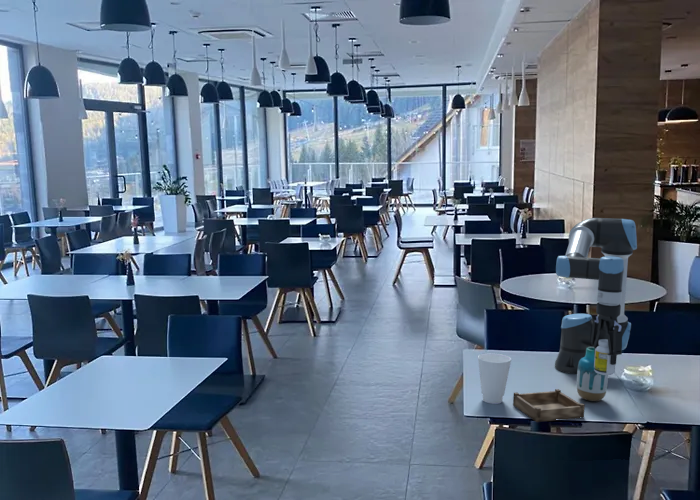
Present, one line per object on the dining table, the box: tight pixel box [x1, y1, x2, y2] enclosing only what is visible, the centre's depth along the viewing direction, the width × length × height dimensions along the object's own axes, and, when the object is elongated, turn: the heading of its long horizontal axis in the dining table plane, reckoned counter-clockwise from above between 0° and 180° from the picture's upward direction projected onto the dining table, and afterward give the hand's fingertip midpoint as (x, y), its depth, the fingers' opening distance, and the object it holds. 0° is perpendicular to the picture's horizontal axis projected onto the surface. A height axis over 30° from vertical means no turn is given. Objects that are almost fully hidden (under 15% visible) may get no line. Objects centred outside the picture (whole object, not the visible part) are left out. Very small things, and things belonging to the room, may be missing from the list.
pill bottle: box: [595, 339, 613, 376], centre depth 224 cm, size 6×6×11 cm
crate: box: [512, 388, 586, 423], centre depth 231 cm, size 18×16×5 cm
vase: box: [576, 347, 609, 402], centre depth 243 cm, size 11×11×19 cm
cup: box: [477, 352, 512, 405], centre depth 240 cm, size 12×12×16 cm
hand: (604, 370), depth 225 cm, fingers closed on pill bottle, 6 cm apart
